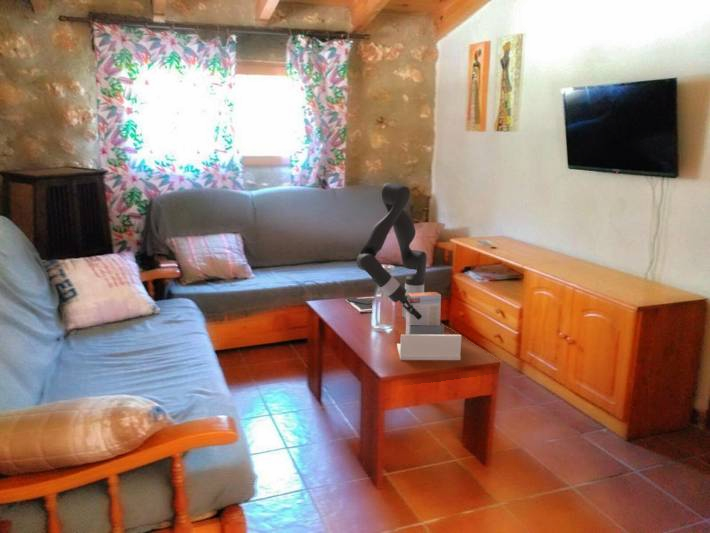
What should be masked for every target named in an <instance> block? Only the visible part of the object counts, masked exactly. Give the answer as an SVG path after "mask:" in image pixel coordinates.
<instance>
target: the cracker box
mask: <svg viewBox="0 0 710 533" xmlns="http://www.w3.org/2000/svg"><path fill="white" fill-rule="evenodd" d="M407 298H408V299H409V301H410V305H412V304H413V307H414V308H415V309H416V310H417V311H418V312H419V313H420V314H421V316H422V317H421V318H420V319H419V320H418V319H417V318H416V317H415V316H414V315H413V314H410V312H409V311H407V310H406V318H405V334H410V325H441V308H442V307H441V303H442V295H441V294H440V293H439V292H437V291H427V292H425V291H424V293H407ZM412 310H413V309H412V308H411V309H410V311H412Z"/></svg>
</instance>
